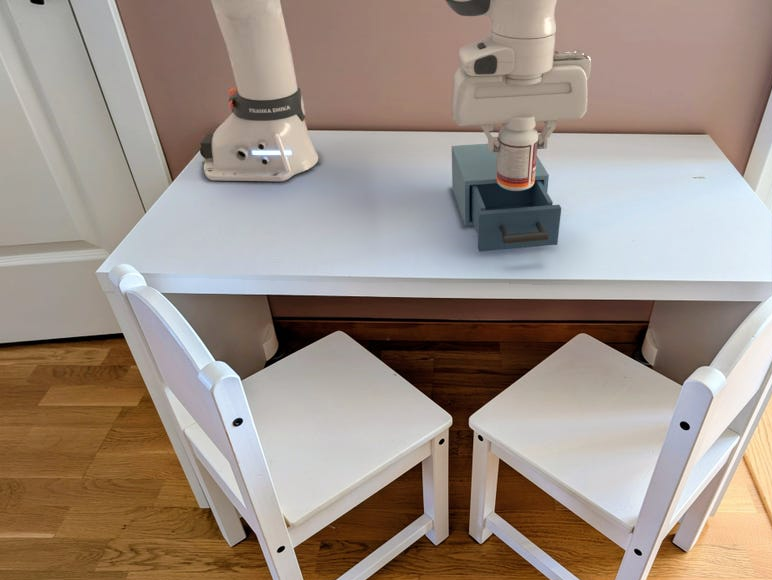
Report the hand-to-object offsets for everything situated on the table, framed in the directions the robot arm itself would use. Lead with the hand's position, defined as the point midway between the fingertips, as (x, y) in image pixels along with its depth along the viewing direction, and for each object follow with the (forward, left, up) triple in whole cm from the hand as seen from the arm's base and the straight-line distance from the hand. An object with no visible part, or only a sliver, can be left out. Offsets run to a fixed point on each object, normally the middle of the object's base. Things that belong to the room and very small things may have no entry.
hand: (517, 149), depth 94 cm
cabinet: (0, +12, -16) cm, 20 cm away
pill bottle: (0, 0, -6) cm, 6 cm away
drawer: (0, 0, -15) cm, 15 cm away
